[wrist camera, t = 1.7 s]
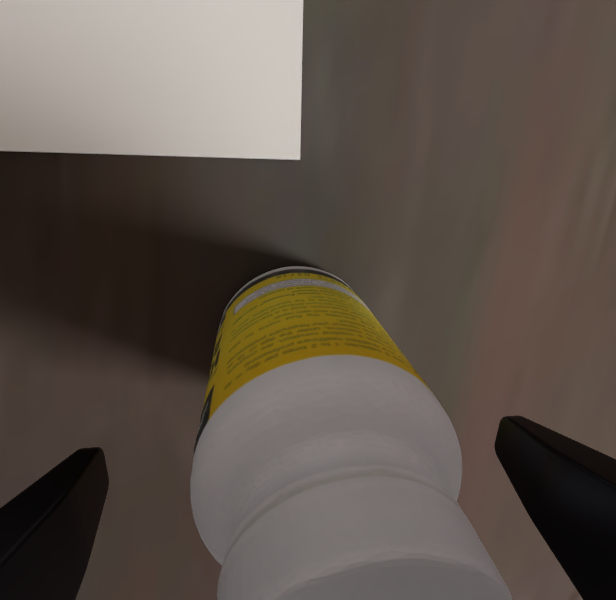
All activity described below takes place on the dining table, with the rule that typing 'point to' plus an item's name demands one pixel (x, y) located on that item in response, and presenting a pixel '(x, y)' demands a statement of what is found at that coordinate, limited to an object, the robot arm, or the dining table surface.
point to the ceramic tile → (152, 77)
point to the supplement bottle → (328, 457)
